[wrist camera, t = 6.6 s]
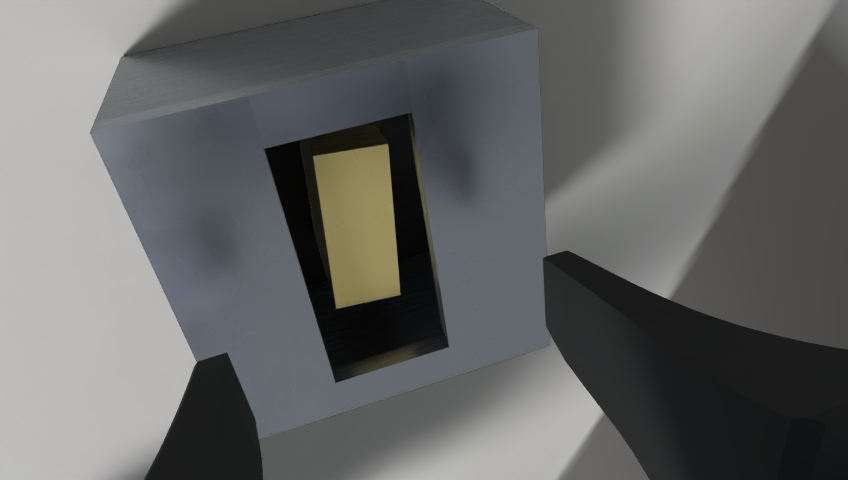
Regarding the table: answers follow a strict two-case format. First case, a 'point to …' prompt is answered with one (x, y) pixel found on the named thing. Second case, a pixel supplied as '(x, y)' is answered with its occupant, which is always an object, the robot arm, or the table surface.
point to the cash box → (265, 219)
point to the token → (353, 212)
